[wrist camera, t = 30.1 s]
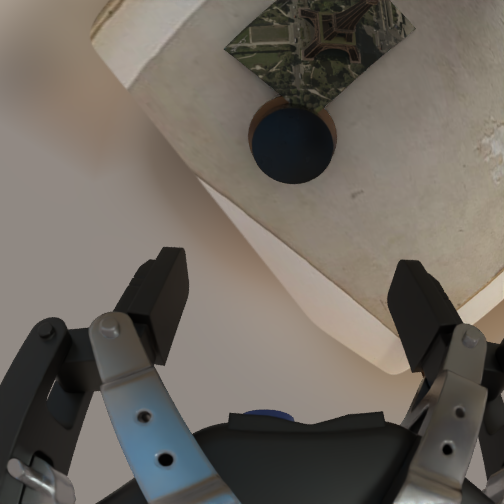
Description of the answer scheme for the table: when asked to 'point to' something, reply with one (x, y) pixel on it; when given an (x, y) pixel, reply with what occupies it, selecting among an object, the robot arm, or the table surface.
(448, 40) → the table surface
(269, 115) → the lid
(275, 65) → the eiffel tower figurine
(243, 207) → the table surface
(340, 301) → the table surface
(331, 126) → the coaster
